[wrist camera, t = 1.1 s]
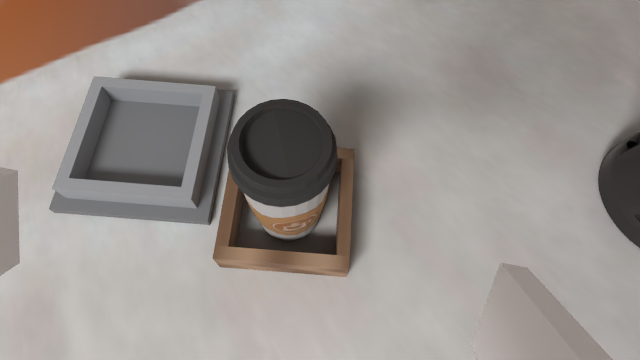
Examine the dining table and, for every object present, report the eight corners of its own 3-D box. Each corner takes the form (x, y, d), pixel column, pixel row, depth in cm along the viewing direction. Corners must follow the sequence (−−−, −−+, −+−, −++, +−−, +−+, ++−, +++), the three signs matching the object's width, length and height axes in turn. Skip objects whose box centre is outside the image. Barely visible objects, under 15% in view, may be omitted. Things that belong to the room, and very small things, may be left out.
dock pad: (234, 96, 49) (229, 77, 46) (209, 224, 42) (201, 213, 39) (100, 85, 49) (85, 66, 46) (54, 212, 42) (33, 199, 39)
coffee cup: (257, 260, 41) (233, 207, 27) (242, 185, 44) (214, 104, 30) (338, 240, 42) (353, 180, 28) (318, 169, 45) (323, 83, 31)
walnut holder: (351, 164, 45) (354, 149, 42) (345, 276, 40) (349, 269, 37) (239, 155, 45) (234, 139, 42) (220, 266, 40) (212, 258, 37)
